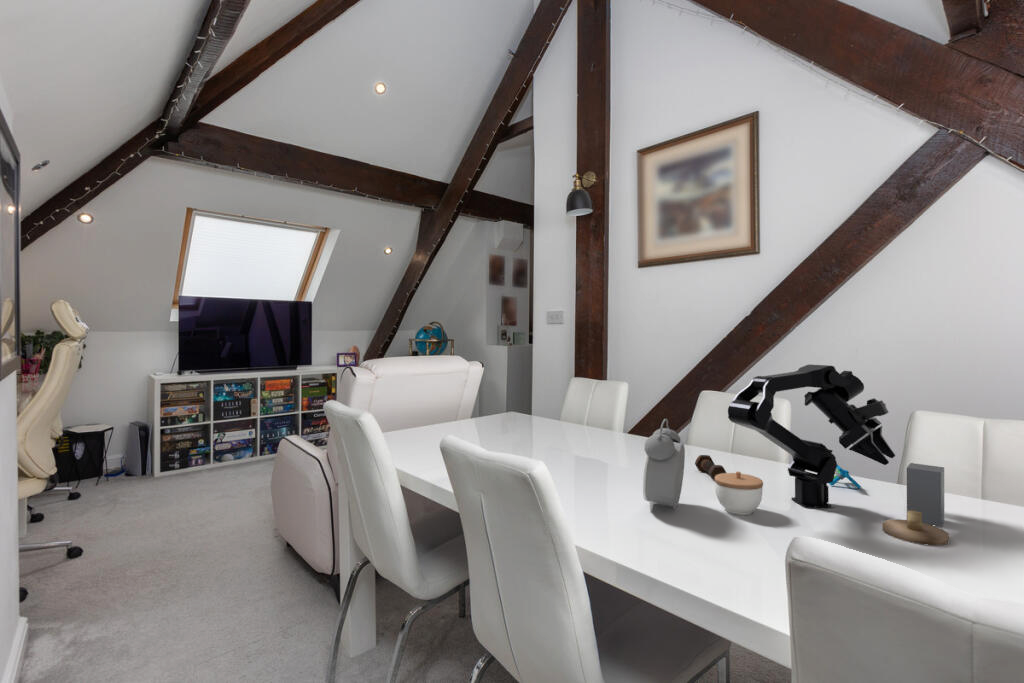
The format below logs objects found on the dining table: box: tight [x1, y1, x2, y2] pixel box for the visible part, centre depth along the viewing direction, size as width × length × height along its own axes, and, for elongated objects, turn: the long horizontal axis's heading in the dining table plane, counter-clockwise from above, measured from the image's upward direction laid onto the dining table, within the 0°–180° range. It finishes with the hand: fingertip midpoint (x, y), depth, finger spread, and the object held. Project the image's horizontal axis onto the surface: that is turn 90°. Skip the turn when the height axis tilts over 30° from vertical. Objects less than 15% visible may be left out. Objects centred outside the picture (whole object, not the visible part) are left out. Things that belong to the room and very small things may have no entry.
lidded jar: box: [714, 471, 764, 516], centre depth 122 cm, size 11×11×9 cm
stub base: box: [881, 510, 950, 546], centre depth 107 cm, size 11×11×5 cm
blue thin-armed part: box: [828, 464, 862, 489], centre depth 141 cm, size 11×6×10 cm
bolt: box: [694, 454, 727, 481], centre depth 152 cm, size 6×5×15 cm
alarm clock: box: [642, 418, 686, 512], centre depth 125 cm, size 16×9×22 cm, turn 154°
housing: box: [906, 462, 945, 528], centre depth 115 cm, size 6×6×12 cm
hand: (890, 460), depth 119 cm, fingers open, 9 cm apart
